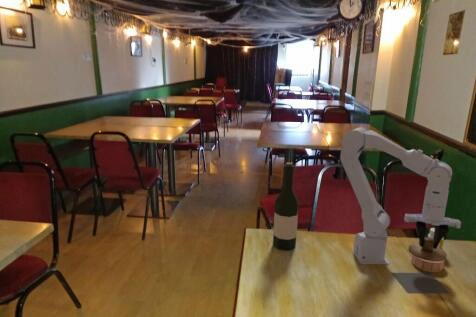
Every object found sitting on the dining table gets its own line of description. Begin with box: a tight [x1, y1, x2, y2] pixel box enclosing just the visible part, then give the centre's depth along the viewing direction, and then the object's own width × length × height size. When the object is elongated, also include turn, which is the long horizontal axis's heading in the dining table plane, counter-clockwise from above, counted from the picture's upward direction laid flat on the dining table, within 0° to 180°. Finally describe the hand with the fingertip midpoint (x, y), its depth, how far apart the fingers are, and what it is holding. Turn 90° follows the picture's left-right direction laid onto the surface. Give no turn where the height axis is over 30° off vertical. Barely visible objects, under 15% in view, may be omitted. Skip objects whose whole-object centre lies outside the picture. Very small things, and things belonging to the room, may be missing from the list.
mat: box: [391, 272, 451, 294], centre depth 100 cm, size 12×10×1 cm
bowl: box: [410, 254, 446, 273], centre depth 110 cm, size 9×9×4 cm
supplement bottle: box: [427, 227, 445, 250], centre depth 117 cm, size 5×5×8 cm
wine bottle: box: [272, 162, 300, 252], centre depth 118 cm, size 8×8×30 cm
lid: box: [408, 236, 447, 262], centre depth 103 cm, size 10×10×4 cm
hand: (427, 246), depth 103 cm, fingers closed on lid, 3 cm apart
